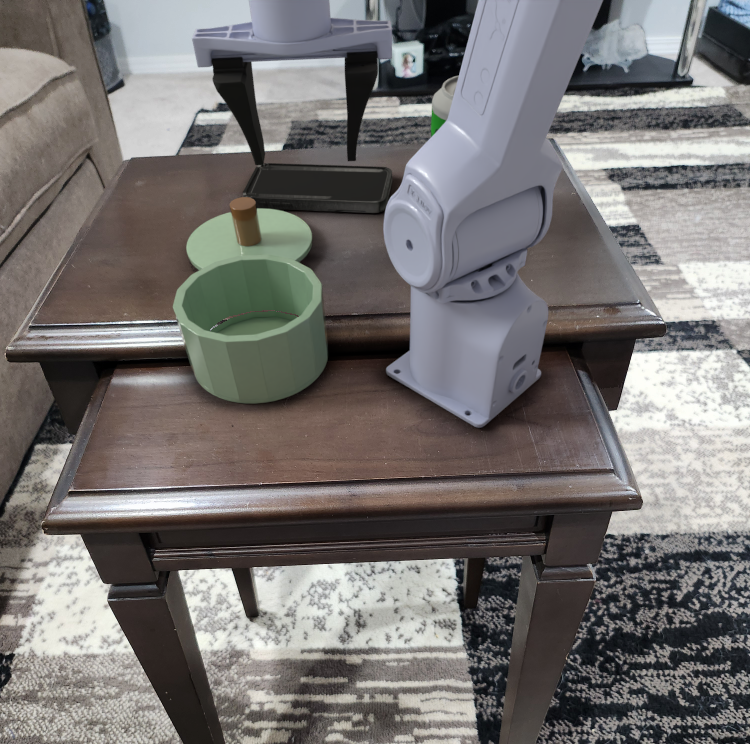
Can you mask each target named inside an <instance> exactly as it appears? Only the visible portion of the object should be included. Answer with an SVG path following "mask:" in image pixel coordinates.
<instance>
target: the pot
mask: <svg viewBox="0 0 750 744" xmlns="http://www.w3.org/2000/svg"><path fill="white" fill-rule="evenodd" d="M323 290H324V289H323V283H322V282H321V281H320V279H319V278H318V276H317V274H316V273H315V272H314V271H313V269H312V268H310V267H308V266H306V265H304V264H302V263H301V262H297V261H295V260H293V259H290V258H285V257H279V256H274V255H267V254H265V255H242V256H236V257H233V258H229V259H225V260H221V261H217V262H214V263H212V264H210V265H209V266H207V267H205V268H203V269H201V270H197V271H196V272H193V273H192V274H190V275H189V277H188V278H187V279H186V280H185V281H184V282H183V283H182V284H181V285H180V286H179V287H178V288H177V290H176V292H175V295H174V296H175V297H174V300H173V304H172V310H173V313H174V316H175V319H176V323H177V326H178V329H179V332H180V333H179V334H180V336H181V339H182V342H183V345H184V349H185V352H186V355H187V358H188V362H189V364H190V368H191V370H192V372H193V374H194V378H195V379H196V381H197V383H198V384H199V385H200V386H201V388H203V389H204V390H205V391H206V392H207V393H209V394H211V395H212V396H214V397H216V398H219V399H220V400H221V399H222V400H224V401H228V402H233V403H238V404H265V403H270V402H276V401H279V400H283V399H286V398H289V397H292V396H294V395H296V394H298V393H300V392H302V391H304V389H307V388H308V387H309V386H310V385H312V384H313V383H314V382H315V381H316V380H317V379H318V378H319V377H320V375H321V374H322V373H323V372H324V371H325V368H326V366H327V364H328V363H327V362H328V358H329V339H328V330H327V320H326V310H325V299H324V291H323ZM262 310H275V311H268V312H251V313H247V314H244V315H240V316H237V317H233V318H230V319H228V320H227V321H225V322H223V323H222V324H220V325H218V326H217V327H215V328H213V329H212V330H211V331H210V329H211V328H212V327H213V326H215V325H216V324H217V323H218V322H220V321H222V320H223V319H225V318H227V317H229V316H233V315H238V314H241V313H246V312H250V311H262ZM276 311H282V312H287V313H292V314H296V315H298V316H299V317H297V316H295V315H290V314H285V313H281V312H276Z"/></svg>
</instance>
